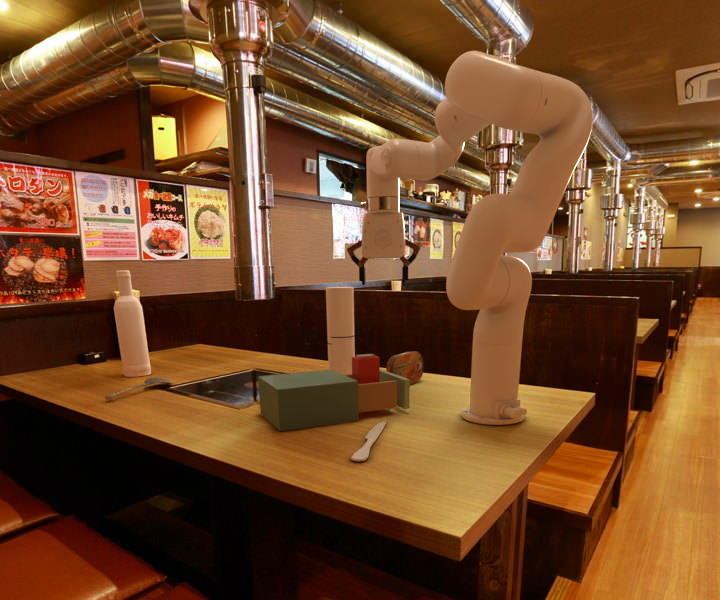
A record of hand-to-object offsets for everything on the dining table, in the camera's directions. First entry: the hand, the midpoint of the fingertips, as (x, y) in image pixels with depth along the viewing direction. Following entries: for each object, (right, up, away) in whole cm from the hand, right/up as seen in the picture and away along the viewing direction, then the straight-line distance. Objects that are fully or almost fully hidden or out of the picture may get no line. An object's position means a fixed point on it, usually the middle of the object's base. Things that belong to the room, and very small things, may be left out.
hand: (383, 284), depth 134 cm
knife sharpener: (-4, -29, -12) cm, 32 cm away
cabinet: (-17, -33, -16) cm, 40 cm away
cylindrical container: (-11, -22, +18) cm, 30 cm away
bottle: (-73, -17, +34) cm, 82 cm away
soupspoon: (-63, -25, +10) cm, 69 cm away
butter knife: (-4, -38, -32) cm, 50 cm away
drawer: (-4, -30, -11) cm, 33 cm away
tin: (+6, -23, +14) cm, 27 cm away
